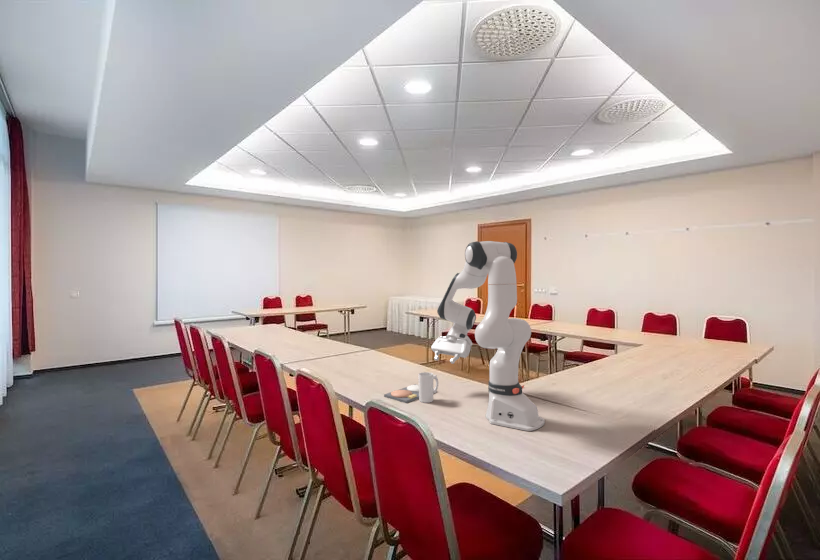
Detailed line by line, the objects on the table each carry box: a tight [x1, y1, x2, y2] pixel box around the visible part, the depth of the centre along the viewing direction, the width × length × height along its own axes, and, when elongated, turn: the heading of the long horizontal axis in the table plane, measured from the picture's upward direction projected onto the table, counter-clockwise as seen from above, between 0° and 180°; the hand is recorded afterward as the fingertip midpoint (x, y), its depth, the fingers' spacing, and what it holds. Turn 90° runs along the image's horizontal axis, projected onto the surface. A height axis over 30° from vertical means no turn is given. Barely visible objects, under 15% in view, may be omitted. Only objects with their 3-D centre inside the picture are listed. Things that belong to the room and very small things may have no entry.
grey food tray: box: [383, 383, 435, 404], centre depth 187 cm, size 14×22×2 cm, turn 138°
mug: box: [417, 371, 439, 404], centre depth 178 cm, size 10×7×12 cm, turn 120°
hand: (443, 361), depth 186 cm, fingers open, 8 cm apart
